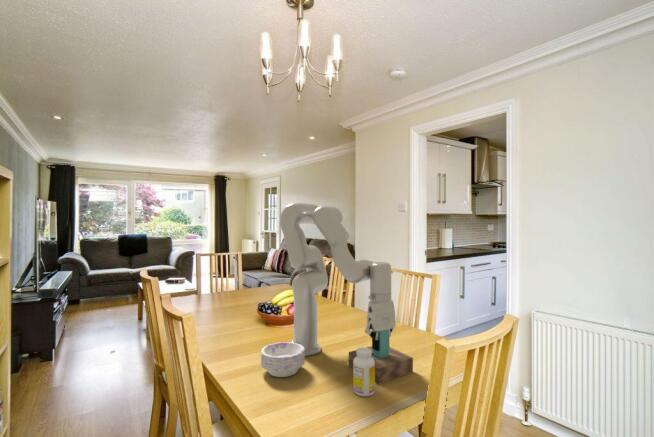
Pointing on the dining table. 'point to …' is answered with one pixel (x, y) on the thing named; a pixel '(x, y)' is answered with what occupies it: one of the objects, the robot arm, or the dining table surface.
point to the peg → (382, 345)
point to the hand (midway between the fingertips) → (380, 347)
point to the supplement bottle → (364, 372)
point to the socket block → (388, 365)
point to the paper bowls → (282, 358)
